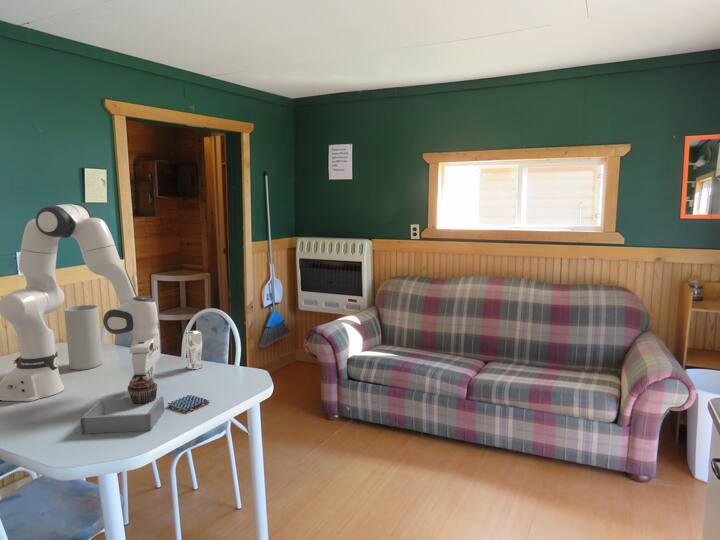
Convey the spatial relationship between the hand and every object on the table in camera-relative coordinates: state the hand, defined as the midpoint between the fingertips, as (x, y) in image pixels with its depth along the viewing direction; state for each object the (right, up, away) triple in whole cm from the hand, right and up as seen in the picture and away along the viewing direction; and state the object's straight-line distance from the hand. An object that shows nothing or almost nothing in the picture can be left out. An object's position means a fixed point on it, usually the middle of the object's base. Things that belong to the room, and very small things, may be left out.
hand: (149, 378), depth 192 cm
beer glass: (+8, -1, +29) cm, 30 cm away
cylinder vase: (-40, -2, +34) cm, 52 cm away
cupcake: (+1, -6, -7) cm, 9 cm away
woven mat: (+18, -7, -12) cm, 23 cm away
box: (+2, -9, -25) cm, 26 cm away
